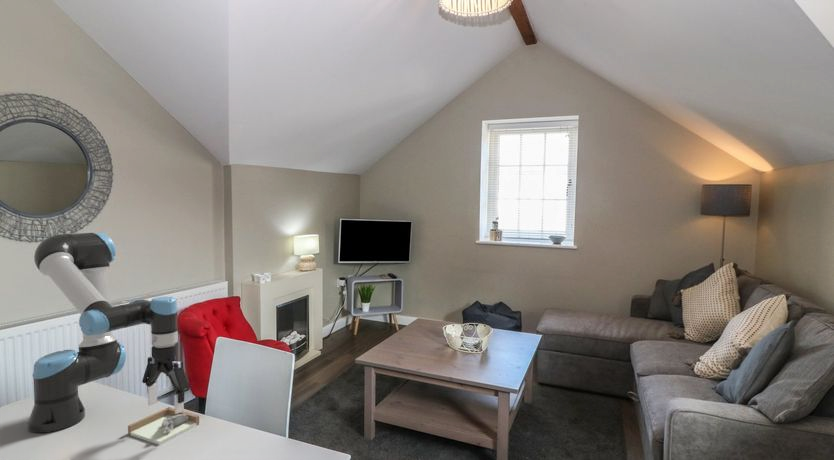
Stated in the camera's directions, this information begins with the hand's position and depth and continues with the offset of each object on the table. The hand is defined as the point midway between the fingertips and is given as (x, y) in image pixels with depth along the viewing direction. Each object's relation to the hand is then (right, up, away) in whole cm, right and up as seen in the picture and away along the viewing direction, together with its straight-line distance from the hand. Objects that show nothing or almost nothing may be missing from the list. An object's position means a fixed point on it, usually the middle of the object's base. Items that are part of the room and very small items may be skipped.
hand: (165, 408), depth 145 cm
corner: (-2, -8, +2) cm, 9 cm away
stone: (+2, -9, -2) cm, 10 cm away
